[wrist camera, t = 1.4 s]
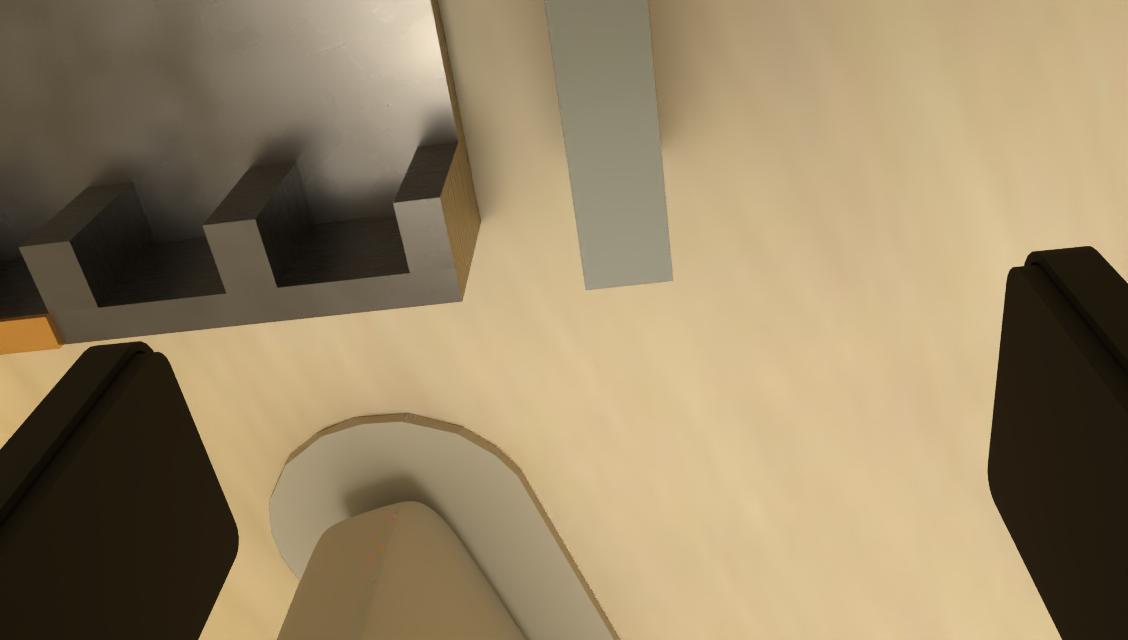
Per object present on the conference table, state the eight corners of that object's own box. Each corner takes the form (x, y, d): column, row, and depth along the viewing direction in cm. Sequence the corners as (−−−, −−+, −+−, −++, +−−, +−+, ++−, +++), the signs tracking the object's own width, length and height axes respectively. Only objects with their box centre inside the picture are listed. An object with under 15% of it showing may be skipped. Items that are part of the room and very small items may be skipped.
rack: (376, -311, 23) (324, -325, 19) (480, 222, 30) (461, 305, 26) (-241, -209, 25) (-425, -198, 20) (-5, 278, 32) (-103, 365, 27)
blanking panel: (612, -275, 24) (621, -283, 17) (653, 153, 29) (673, 280, 22) (531, -262, 24) (506, -265, 17) (587, 162, 29) (585, 290, 22)
